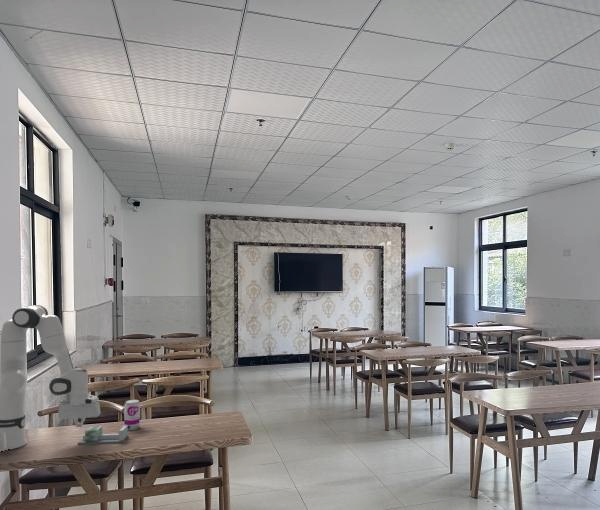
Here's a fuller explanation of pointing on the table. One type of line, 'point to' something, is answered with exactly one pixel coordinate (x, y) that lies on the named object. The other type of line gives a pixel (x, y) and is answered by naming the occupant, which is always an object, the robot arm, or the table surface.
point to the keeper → (93, 433)
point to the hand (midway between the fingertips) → (79, 426)
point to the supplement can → (132, 414)
